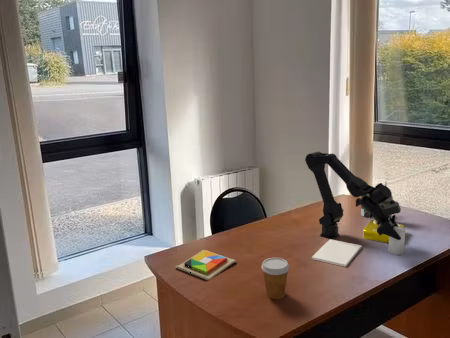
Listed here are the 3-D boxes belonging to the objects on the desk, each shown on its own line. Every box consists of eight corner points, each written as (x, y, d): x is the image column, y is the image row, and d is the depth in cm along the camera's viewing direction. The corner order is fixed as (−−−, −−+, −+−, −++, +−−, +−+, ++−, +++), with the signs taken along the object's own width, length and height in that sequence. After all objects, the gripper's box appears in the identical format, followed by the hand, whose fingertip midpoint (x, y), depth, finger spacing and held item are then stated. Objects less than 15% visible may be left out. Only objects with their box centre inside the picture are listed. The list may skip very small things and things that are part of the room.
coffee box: (363, 217, 221) (364, 192, 218) (359, 215, 224) (360, 191, 221) (376, 215, 224) (377, 190, 221) (372, 213, 227) (373, 188, 224)
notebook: (311, 259, 180) (311, 256, 180) (329, 241, 196) (329, 239, 196) (345, 266, 172) (345, 264, 172) (361, 247, 188) (361, 245, 188)
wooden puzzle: (174, 269, 177) (173, 261, 177) (206, 252, 191) (205, 245, 190) (206, 282, 166) (205, 273, 166) (237, 263, 180) (237, 255, 179)
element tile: (361, 239, 198) (362, 229, 197) (370, 227, 210) (371, 218, 209) (396, 245, 190) (397, 235, 189) (404, 233, 202) (405, 223, 201)
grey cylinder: (385, 252, 183) (387, 229, 181) (392, 247, 187) (393, 225, 185) (400, 256, 179) (401, 233, 176) (406, 251, 183) (407, 228, 181)
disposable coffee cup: (286, 286, 160) (286, 256, 157) (291, 301, 151) (291, 268, 148) (260, 288, 160) (259, 257, 157) (263, 302, 150) (262, 270, 147)
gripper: (387, 203, 170) (416, 233, 169) (390, 189, 187) (417, 216, 185) (365, 220, 176) (393, 249, 174) (370, 205, 192) (396, 232, 190)
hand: (400, 236), depth 181 cm, fingers closed on grey cylinder, 6 cm apart
